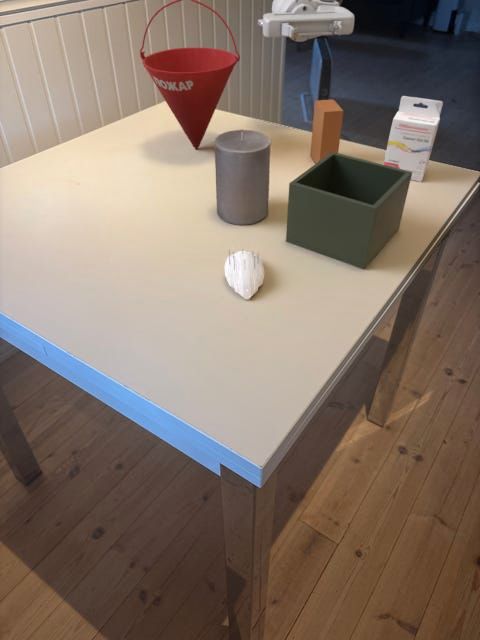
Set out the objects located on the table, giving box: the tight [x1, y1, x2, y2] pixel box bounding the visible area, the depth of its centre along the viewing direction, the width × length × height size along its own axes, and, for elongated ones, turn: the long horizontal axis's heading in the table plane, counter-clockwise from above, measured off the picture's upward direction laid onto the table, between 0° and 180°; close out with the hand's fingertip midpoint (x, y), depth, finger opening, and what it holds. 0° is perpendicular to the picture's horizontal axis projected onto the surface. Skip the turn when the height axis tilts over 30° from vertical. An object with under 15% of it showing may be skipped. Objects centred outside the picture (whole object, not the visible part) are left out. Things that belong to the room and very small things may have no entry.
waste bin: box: [285, 152, 412, 270], centre depth 82 cm, size 15×15×11 cm
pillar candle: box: [214, 129, 272, 226], centre depth 87 cm, size 10×10×15 cm
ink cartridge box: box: [383, 95, 444, 183], centre depth 98 cm, size 9×5×15 cm, turn 65°
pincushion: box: [223, 250, 265, 300], centre depth 75 cm, size 12×6×6 cm, turn 4°
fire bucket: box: [139, 0, 241, 150], centre depth 104 cm, size 22×20×30 cm
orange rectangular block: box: [309, 99, 344, 165], centre depth 104 cm, size 4×7×12 cm, turn 9°
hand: (316, 32), depth 102 cm, fingers open, 8 cm apart
